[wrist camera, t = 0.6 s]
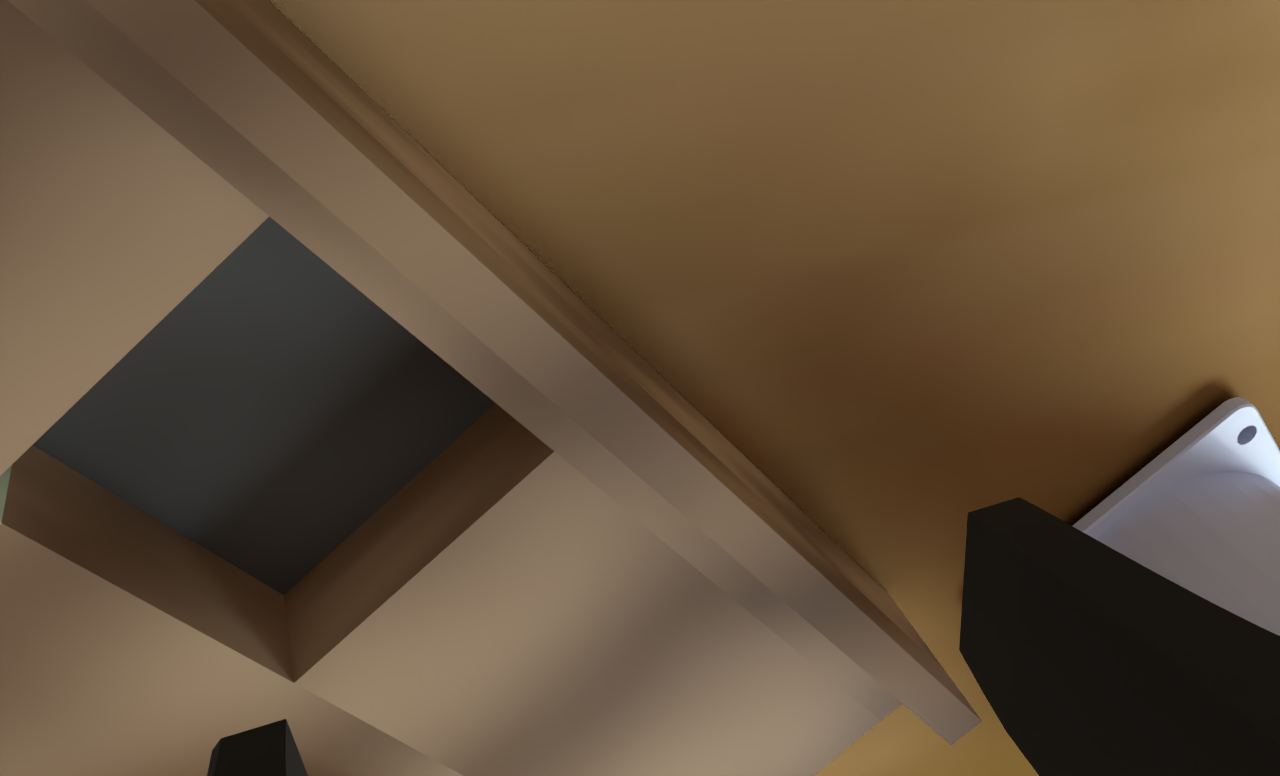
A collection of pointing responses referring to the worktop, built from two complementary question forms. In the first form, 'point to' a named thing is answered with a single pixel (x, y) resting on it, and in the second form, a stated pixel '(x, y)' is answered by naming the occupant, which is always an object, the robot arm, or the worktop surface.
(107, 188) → the trap box
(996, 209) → the worktop surface
